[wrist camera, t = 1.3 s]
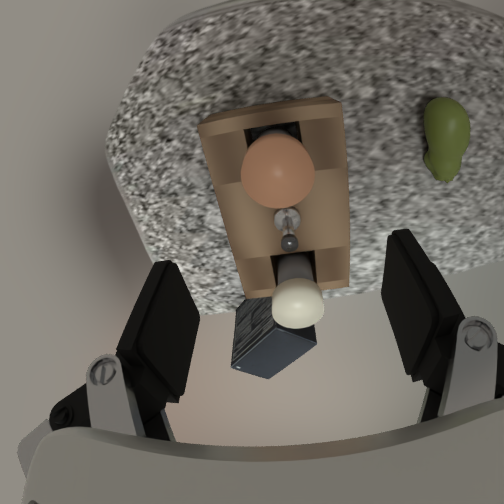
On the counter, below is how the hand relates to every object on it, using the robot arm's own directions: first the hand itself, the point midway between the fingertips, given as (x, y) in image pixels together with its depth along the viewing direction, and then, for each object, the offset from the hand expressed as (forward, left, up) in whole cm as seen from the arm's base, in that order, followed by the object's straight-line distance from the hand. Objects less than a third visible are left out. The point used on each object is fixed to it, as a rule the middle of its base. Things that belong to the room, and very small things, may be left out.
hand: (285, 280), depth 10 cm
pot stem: (0, +7, -16) cm, 17 cm away
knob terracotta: (0, 0, -17) cm, 17 cm away
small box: (+4, +23, -22) cm, 32 cm away
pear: (-19, +1, -22) cm, 29 cm away
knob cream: (0, +13, -17) cm, 22 cm away
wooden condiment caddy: (0, +7, -22) cm, 23 cm away
